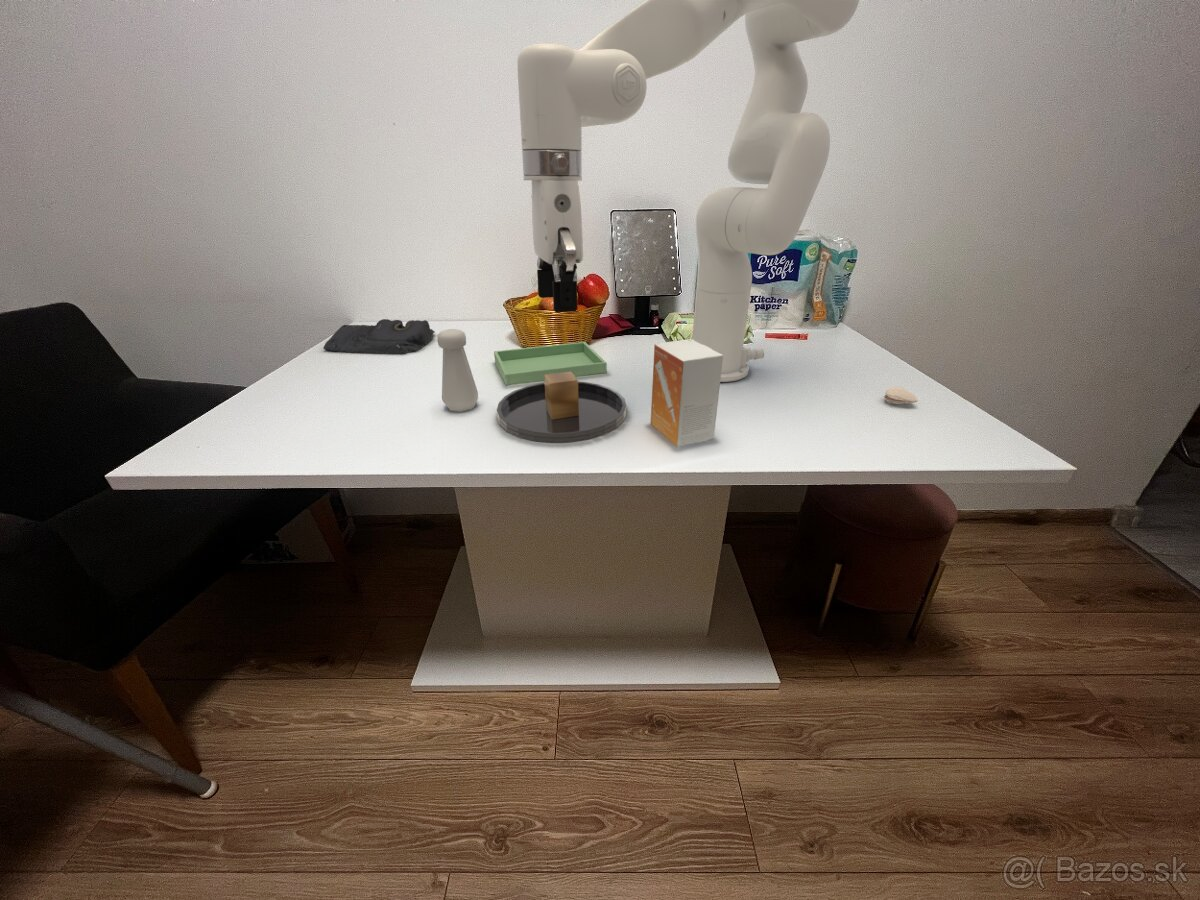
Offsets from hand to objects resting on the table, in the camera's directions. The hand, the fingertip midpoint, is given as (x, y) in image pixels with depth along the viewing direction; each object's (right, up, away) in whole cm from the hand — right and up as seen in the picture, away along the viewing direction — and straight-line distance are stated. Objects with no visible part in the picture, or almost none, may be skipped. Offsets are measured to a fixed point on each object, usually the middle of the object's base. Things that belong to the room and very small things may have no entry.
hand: (556, 303), depth 73 cm
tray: (-4, -5, +27) cm, 28 cm away
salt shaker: (-16, -14, +11) cm, 24 cm away
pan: (0, -16, +8) cm, 18 cm away
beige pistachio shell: (+56, -14, +11) cm, 59 cm away
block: (0, -15, +8) cm, 17 cm away
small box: (+18, -19, +2) cm, 26 cm away
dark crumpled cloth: (-44, +3, +43) cm, 62 cm away
